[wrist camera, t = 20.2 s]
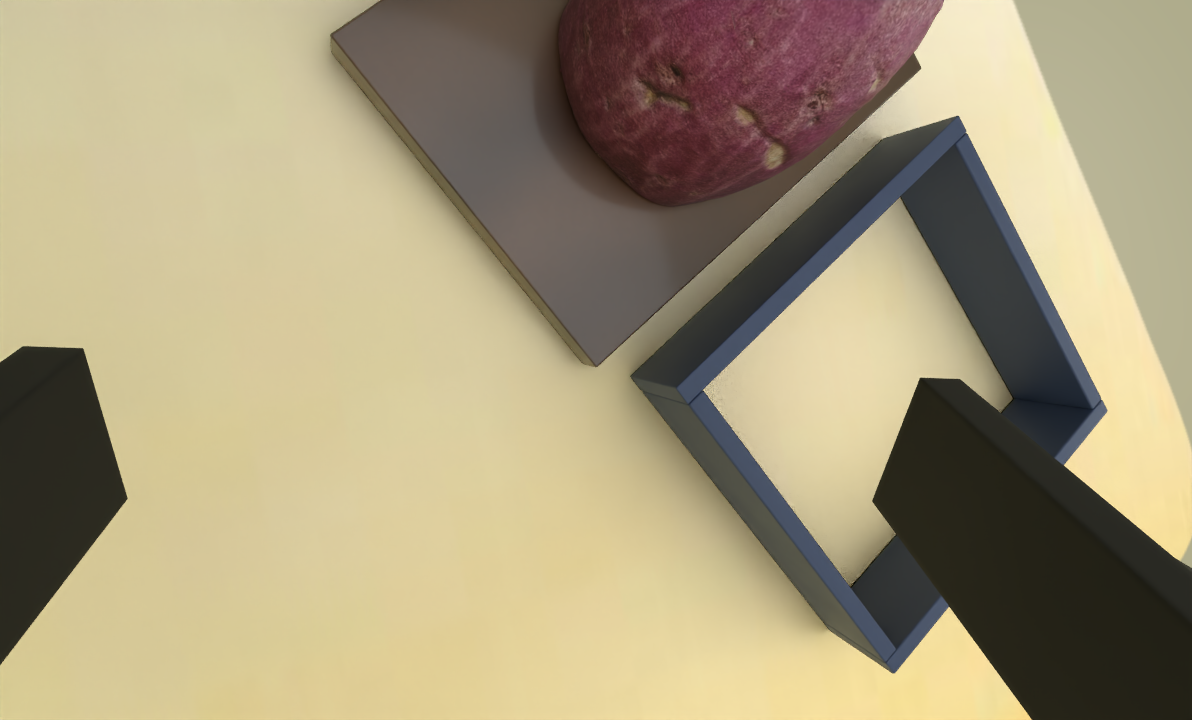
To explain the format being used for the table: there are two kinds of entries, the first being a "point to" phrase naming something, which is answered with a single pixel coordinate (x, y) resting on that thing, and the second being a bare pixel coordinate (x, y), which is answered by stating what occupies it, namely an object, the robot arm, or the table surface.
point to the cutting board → (544, 162)
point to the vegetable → (725, 83)
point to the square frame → (991, 301)
